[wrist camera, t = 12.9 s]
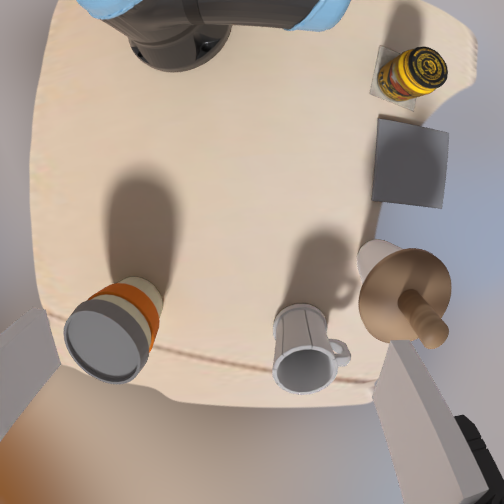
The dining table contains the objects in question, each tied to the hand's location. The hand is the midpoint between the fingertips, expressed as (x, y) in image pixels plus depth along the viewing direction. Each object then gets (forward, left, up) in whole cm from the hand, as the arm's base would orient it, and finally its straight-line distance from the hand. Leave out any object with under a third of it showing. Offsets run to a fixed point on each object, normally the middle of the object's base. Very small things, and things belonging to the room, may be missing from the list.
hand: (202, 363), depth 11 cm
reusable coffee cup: (+18, -19, -37) cm, 45 cm away
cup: (+20, +9, -37) cm, 43 cm away
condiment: (-20, +20, -37) cm, 47 cm away
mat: (-7, +23, -37) cm, 44 cm away
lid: (+8, +19, -24) cm, 31 cm away
